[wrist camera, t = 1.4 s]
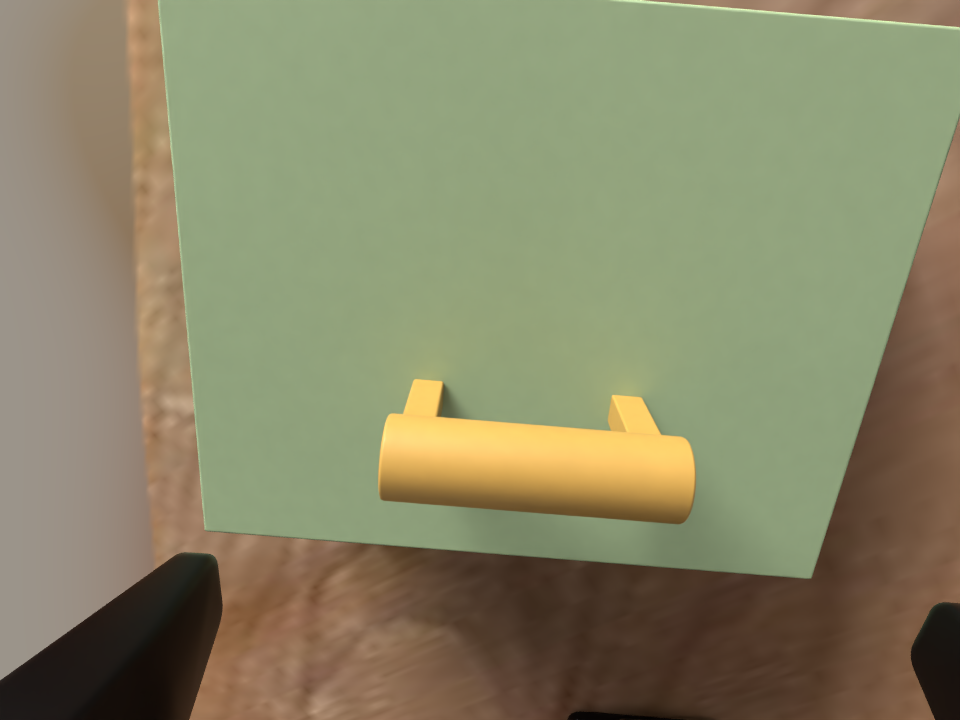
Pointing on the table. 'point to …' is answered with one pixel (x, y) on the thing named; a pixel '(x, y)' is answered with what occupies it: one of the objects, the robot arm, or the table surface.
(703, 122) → the lid
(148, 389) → the table surface
